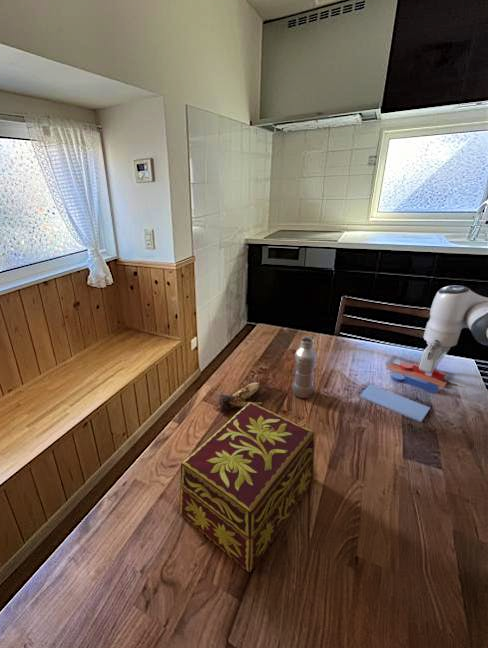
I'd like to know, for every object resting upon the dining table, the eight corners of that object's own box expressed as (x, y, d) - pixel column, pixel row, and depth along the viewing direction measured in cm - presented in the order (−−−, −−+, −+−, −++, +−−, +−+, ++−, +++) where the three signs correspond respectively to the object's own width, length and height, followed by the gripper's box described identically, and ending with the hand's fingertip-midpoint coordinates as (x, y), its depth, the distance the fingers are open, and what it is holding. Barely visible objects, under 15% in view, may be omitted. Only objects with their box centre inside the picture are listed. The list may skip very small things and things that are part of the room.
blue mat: (429, 409, 99) (430, 407, 99) (421, 422, 94) (421, 421, 94) (369, 385, 111) (370, 384, 111) (359, 396, 106) (359, 395, 106)
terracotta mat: (450, 377, 112) (451, 376, 112) (443, 388, 107) (444, 386, 107) (394, 359, 124) (395, 358, 124) (386, 368, 119) (386, 367, 119)
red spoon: (445, 377, 111) (446, 371, 110) (441, 382, 109) (443, 376, 108) (401, 363, 120) (403, 357, 119) (397, 368, 118) (398, 362, 117)
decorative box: (250, 574, 62) (251, 521, 56) (178, 513, 74) (173, 464, 68) (314, 478, 80) (321, 430, 74) (248, 441, 92) (249, 397, 86)
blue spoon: (438, 389, 107) (439, 383, 106) (434, 395, 104) (436, 389, 103) (393, 374, 116) (394, 368, 115) (389, 379, 114) (390, 373, 113)
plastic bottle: (292, 399, 107) (296, 344, 99) (291, 387, 113) (295, 334, 104) (313, 402, 105) (320, 346, 97) (311, 389, 111) (317, 335, 103)
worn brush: (233, 425, 99) (273, 398, 108) (233, 413, 97) (274, 386, 106) (212, 408, 105) (252, 384, 115) (212, 397, 103) (252, 373, 113)
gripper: (443, 351, 98) (432, 389, 104) (461, 327, 110) (450, 363, 116) (418, 344, 103) (409, 381, 108) (438, 322, 115) (429, 357, 120)
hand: (430, 372), depth 112 cm, fingers open, 3 cm apart
